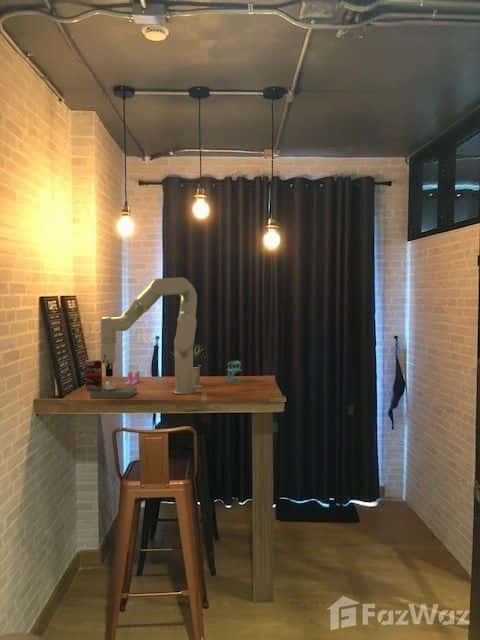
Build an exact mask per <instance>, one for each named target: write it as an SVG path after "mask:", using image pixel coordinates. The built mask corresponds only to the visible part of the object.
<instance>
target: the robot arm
mask: <svg viewBox="0 0 480 640" xmlns="http://www.w3.org/2000/svg"><path fill="white" fill-rule="evenodd" d="M172 295H173V296H175V295H179V297H180V303H179V304H180V305H179V310H178V311H179V312H178V317H177V325H176V332H175V337H174V340H173V346H174V349H173V350H174V383H175V384H174V387H175V388H174V389H172V394H174V395H175V394H176V395H190V394H195V393H196V392H197V390H202V385H200V384H196V383H195V382H194V350H193V349H194V344H195V338H196V337H195V336H196V329H197V318H196V315H197V314H196V313H197V305H198V304H197V303H198V295H197V292H196V289H195V287H194V285H193V284H191V282H190V281H189V280H188V279H187V278H185V277H181V276H180V277H168V278H167V277H165V278H163V277H162V278H155V279H153V280H151V283H150V284H149V285H148V286H147V287H146V288H145V289H144V290H142V292H141V293H140V294H139V295H138V296H137V297H136V298H135V299H134V300H133V302H132V304H131V305H129V307H128V308H127V309H126V310H125V311H124V312H123V314H121V316H117V317H114V316H102V317H101V318H100V340H101V341H100V344H101V347H100V360H101V363H102V364H104V365H103V366H104V369H105V377H113V376H114V372H113V371H114V369H113V367H114V362H115V361H116V358H117V354H116V353H117V349H116V344H117V331H119V332H126V331H128V330H129V329H130V328H131V327H132V326H133V325H134V324H135V323H136V322H137V321H138V320H139V319H140V318H141V316H143V314H145V313H147V312H148V311H149V310H150V309H151V308H152V306H154V305H155V304H156V302H157V301H158V300H160V298H161V297H162V296H172Z"/></svg>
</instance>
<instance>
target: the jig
mask: <svg viewBox="0 0 480 640" xmlns="http://www.w3.org/2000/svg"><path fill="white" fill-rule="evenodd" d="M137 393H138V387H137V386H115V390H113V391H105V386H102V387H99V388H97V389H93V390H91V391H89V399H130V398H132V397H133V396H135V395H136V394H137Z"/></svg>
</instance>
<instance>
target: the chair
mask: <svg viewBox="0 0 480 640" xmlns="http://www.w3.org/2000/svg"><path fill="white" fill-rule="evenodd" d="M230 365H231V367H230ZM241 365H242V362H241V361H239V360H231V361H230V362H228V363H227V366H228V368H226V369H227V370H226V371H228V372H227V379H226V381H227V382H228V383H234V382H235V383H238V382H239V383H240V382H242V383H243V382H244V379H242V378H240V377H235V378H233V377H234V376H235V374H236V373H238V372H242V370H243V369H242V368H241ZM234 366H235V367H234ZM236 379H238V380H236Z"/></svg>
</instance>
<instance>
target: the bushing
mask: <svg viewBox="0 0 480 640" xmlns="http://www.w3.org/2000/svg"><path fill="white" fill-rule="evenodd" d="M104 387H105V391H113V390H115V387H116V381H115V380H114V381H113V380H110V381H104Z"/></svg>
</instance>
